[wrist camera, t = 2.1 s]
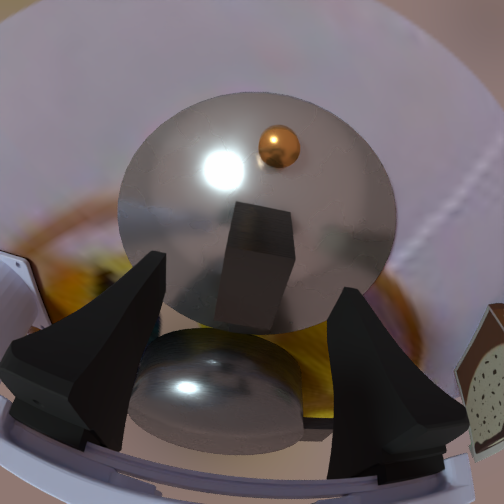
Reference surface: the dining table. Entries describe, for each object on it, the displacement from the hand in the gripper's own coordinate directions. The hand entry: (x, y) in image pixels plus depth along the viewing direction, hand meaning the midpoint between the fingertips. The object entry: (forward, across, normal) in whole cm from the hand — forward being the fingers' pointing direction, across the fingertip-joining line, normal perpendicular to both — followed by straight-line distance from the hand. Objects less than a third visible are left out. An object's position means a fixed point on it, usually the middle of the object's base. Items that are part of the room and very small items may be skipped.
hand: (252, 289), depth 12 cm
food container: (+4, -23, +5) cm, 24 cm away
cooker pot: (+4, 0, +14) cm, 15 cm away
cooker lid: (+4, 0, 0) cm, 4 cm away
